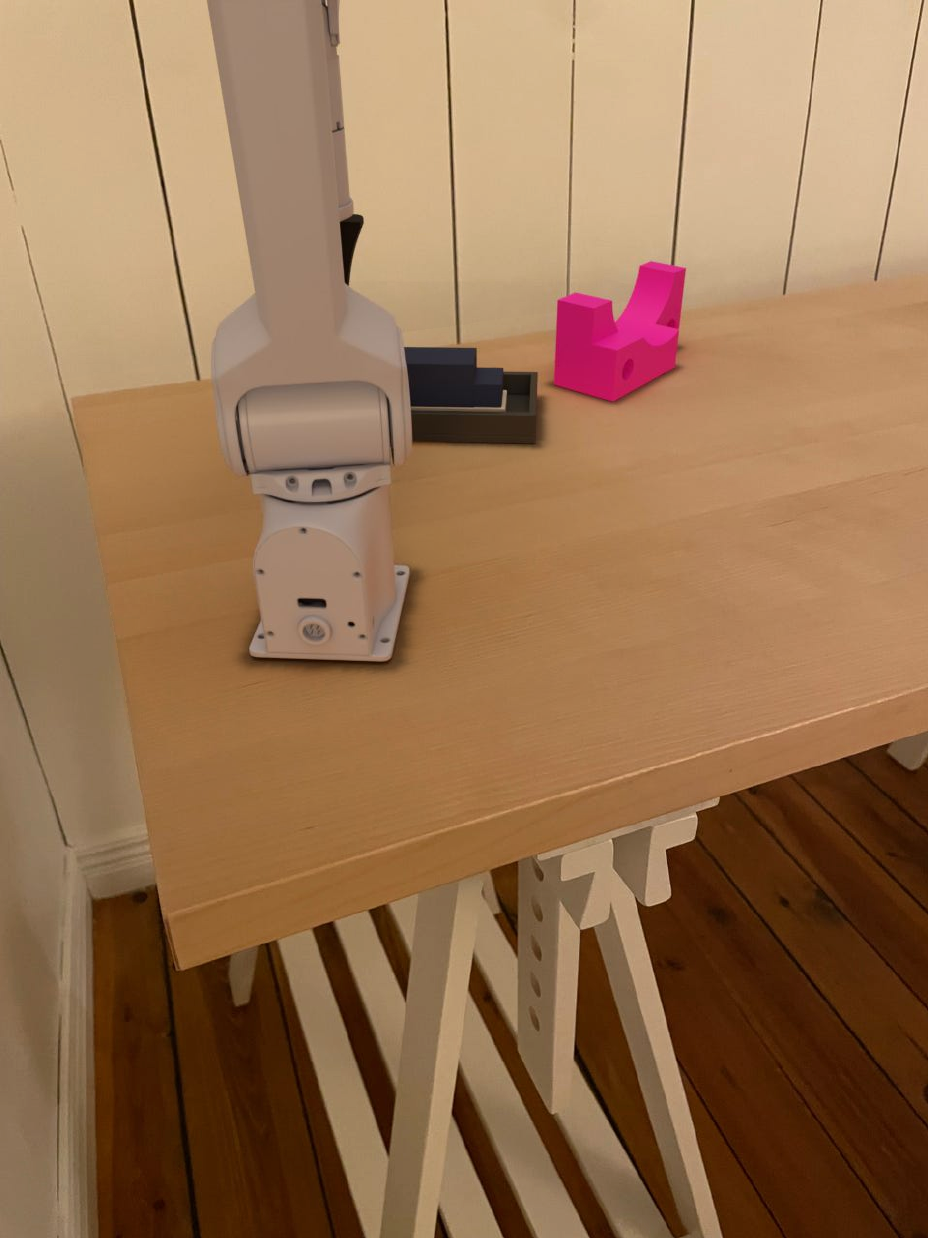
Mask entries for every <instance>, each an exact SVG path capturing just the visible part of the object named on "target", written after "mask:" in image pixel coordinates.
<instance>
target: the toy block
mask: <svg viewBox="0 0 928 1238" xmlns="http://www.w3.org/2000/svg"><path fill="white" fill-rule="evenodd" d="M686 272H687V267H683V266H678V265H672V264H669V263H663V262H657V261H652V260H650V261H649V262H645V263H643V264H640V265H639V267H638V273H637V276H636V281H635V285H634V287H633V290H632V293H631V296H630V298H629V300H628V302H627V304H626V305H625V308H624V309H623V311H622V312H621V314H620V315H619V317H618V318H617V319H616V320H615V317H614V313H613V312H614V310H613V300H611V299H607V298H602V297H598V296H594V295H589V294H585V293H580V292H573V293H570V294H568V295H566V296H563V297H561V298H558V299H557V300H556V301H557V302H556V325H555V348H554V373H553V385H554V386H556V387H557V386H558V387H561V388H564V389H567V390H571V391H574V392H578V393H581V394H585V395H589V396H592V397H595V398H599V399H602V400H604V401H609V402H612V403H614V402H615V401H617V400H619V399H621V398H623V397H624V396H626V395H627V394H629V393H631V392H633V391H635V390H637V389H638V388H641V387H642V386H644V385H646V384H648V383H650V382H651V381H653V380H655V379H656V378H658V377H660V376H662V375H663V374H666V373H667V372H669V371H670V370H673V369H674V368H676V360H677V352H678V345H679V335H680V325H681V317H682V316H681V314H682V309H683V308H682V306H683V298H684V291H685V282H686V281H685V280H686Z"/></svg>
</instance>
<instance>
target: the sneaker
mask: <svg viewBox="0 0 928 1238" xmlns="http://www.w3.org/2000/svg"><path fill="white" fill-rule="evenodd" d="M477 349H478V348H477V347H448V346H447V347H440V346H439V347H438V346H437V347H436V346H404V351H405V360H406V365H407V373H408V382H409V394H410V407H411V410H419V411H479V412H506V405H507V390H503V371H504V367H478V366H477V365H478V359H477V358H478V357H477V356H478V350H477Z"/></svg>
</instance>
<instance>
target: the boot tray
mask: <svg viewBox="0 0 928 1238" xmlns="http://www.w3.org/2000/svg"><path fill="white" fill-rule="evenodd" d="M538 379H539V372H538V371H504V370H503V390H507V405H506V412H479V411H419V410H411V423H412V442H424V443H425V442H429V443H430V442H431V443H432V442H433V443H435V442H438V443H440V442H441V443H479V444H482V443H485V444H486V443H487V444H532V445H533V444H537V443H536V442H537V416H538V415H537V413H538V412H537V410H538Z"/></svg>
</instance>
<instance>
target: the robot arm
mask: <svg viewBox="0 0 928 1238" xmlns="http://www.w3.org/2000/svg"><path fill="white" fill-rule="evenodd" d="M206 4H207V9H208V15H209V22H210V29H211V34H212V41H213V46H214V51H215V58H216V65H217V69H218V70H217V71H218V77H219V82H220V89H221V95H222V100H223V106H224V113H225V118H226V124H227V129H228V137H229V142H230V148H231V149H230V150H231V154H232V161H233V167H234V173H235V179H236V184H237V191H238V197H239V203H240V208H241V215H242V220H243V221H242V222H243V228H244V234H245V239H246V240H245V241H246V246H247V252H248V257H249V264H250V269H251V275H252V281H253V288H254V293H253V294H252V295H251V296H249V298H247V299H245V301H244V302H243V303H241V304H240V305H239V306H237V307H236V308H235V309H234V310H233V311H231V313H229V314H228V315H226V317H224V318H223V319H222V320H221V321H220V322H219V324H218V326H217V327H216V332H215V336H214V337H213V339H212V343H211V355H210V374H211V376H210V377H211V384H212V389H213V398H214V410H215V411H214V412H215V421H216V428H217V433H218V435H217V436H218V439H219V445H220V449H221V454H222V457H223V461H224V463H225V465H226V466H227V468H229V469H230V470H231V471H233V472H234V474H235V475H236V476H237V477H239V478H245V477H249V479H250V484H251V492H252V494H253V495H258V500H259V501H258V502H259V507H260V514H261V520H262V527H261V532H260V535H259V538H258V542H257V544H256V547H255V550H254V553H253V557H252V571H253V578H254V584H255V590H256V596H257V602H258V609H259V613H260V621H259V624H258V626H257V628H256V630H255V632H254V635H253V638H252V640H251V642H250V645H249V648H248V649H249V654H250V656H251V657H254V658H269V659H294V660H295V659H296V660H298V659H299V660H325V661H326V660H329V661H355V662H357V661H358V662H387V661H389V660H390V659H392V657H393V653H394V647H395V643H396V639H397V634H398V630H399V625H400V620H401V616H402V611H403V607H404V603H405V599H406V594H407V589H408V585H409V580H410V576H411V571H410V569H411V568H410V567H409V566H407V565H404V564H395V553H394V551H395V549H394V537H393V535H394V534H393V522H392V521H393V519H392V507H391V505H392V504H391V491H390V489H391V488H390V486H391V485H392V484H393V479H392V477H393V476H392V465H393V467H402V466H404V465H405V462H406V461H407V460H408V459H409V458H410V457H411V456H412V453H413V441H412V423H411V407H410V394H409V382H408V373H407V365H406V360H405V351H404V347H405V345H404V338H403V337H404V336H403V331H402V329H401V328H400V326H398V325H397V320H396V317H395V315H393V313H391V312H390V311H388V310H387V309H385V308H384V307H382V306H381V305H380V304H378V303H376V302H374V301H373V300H371V299H370V298H368V297H366V296H365V295H363V294H361V293H360V292H358V291H357V290H355V289H353V288H352V287H350V280H351V269H352V265H353V264H352V263H353V259H354V254H355V250H356V246H357V243H358V239H359V236H360V234H361V232H362V230H363V226H364V224H365V220H364V219H365V218H364V216H363V215H362V214H358V213H355V208H354V200H353V199H352V197H351V195H350V183H349V169H348V154H347V143H346V131H345V129H346V128H345V117H344V104H343V103H344V102H343V89H342V77H341V76H342V75H341V63H340V55H339V54H338V50H337V49H338V47H339V45H340V44H341V40H340V39H341V38H340V4H341V0H206ZM391 460H392V462H391Z"/></svg>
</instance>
